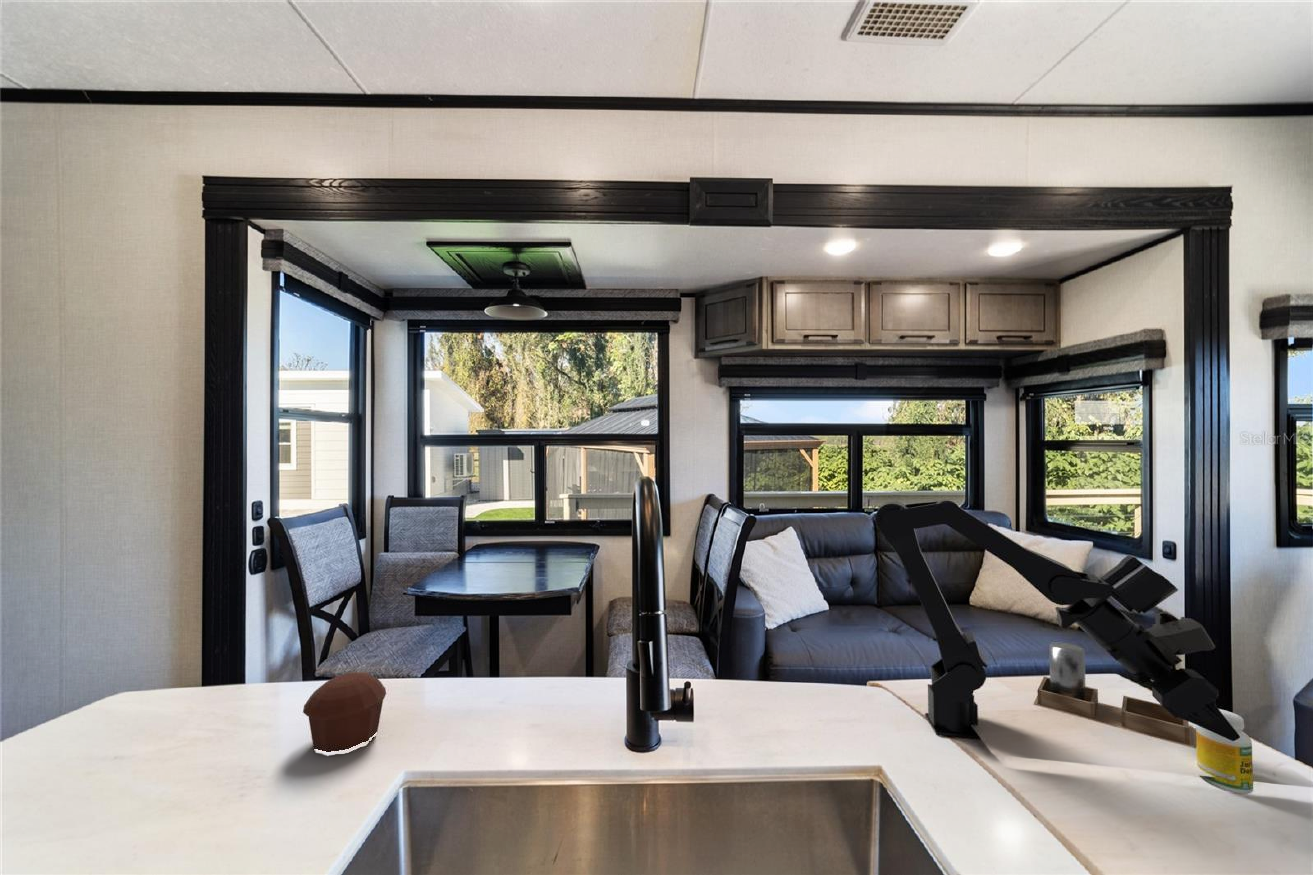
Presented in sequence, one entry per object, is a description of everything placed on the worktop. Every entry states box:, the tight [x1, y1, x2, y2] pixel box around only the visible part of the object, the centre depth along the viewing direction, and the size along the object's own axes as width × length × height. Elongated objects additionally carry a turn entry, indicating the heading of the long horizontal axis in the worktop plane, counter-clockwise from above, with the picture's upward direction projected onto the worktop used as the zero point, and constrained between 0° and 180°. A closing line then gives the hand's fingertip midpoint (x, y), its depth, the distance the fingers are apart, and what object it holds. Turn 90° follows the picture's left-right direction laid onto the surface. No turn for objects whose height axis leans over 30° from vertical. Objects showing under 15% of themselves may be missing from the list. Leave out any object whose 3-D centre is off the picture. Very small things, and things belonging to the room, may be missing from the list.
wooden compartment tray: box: [1032, 676, 1196, 749], centre depth 90 cm, size 20×9×4 cm, turn 46°
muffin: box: [302, 671, 387, 752], centre depth 84 cm, size 12×11×10 cm
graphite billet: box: [1048, 641, 1087, 701], centre depth 94 cm, size 5×5×10 cm
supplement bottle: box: [1195, 708, 1254, 795], centre depth 73 cm, size 5×5×10 cm
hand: (1218, 723), depth 74 cm, fingers open, 9 cm apart
